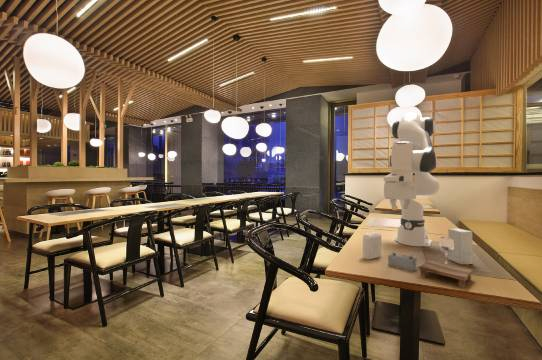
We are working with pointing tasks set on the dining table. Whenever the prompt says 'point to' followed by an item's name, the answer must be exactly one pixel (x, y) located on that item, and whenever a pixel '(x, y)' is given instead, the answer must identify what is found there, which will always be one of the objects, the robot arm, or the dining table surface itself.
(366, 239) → the photo printer
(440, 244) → the wineglass
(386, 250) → the dining table surface
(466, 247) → the skincare box
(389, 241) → the dining table surface
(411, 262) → the plate
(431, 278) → the dining table surface
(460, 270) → the stand
